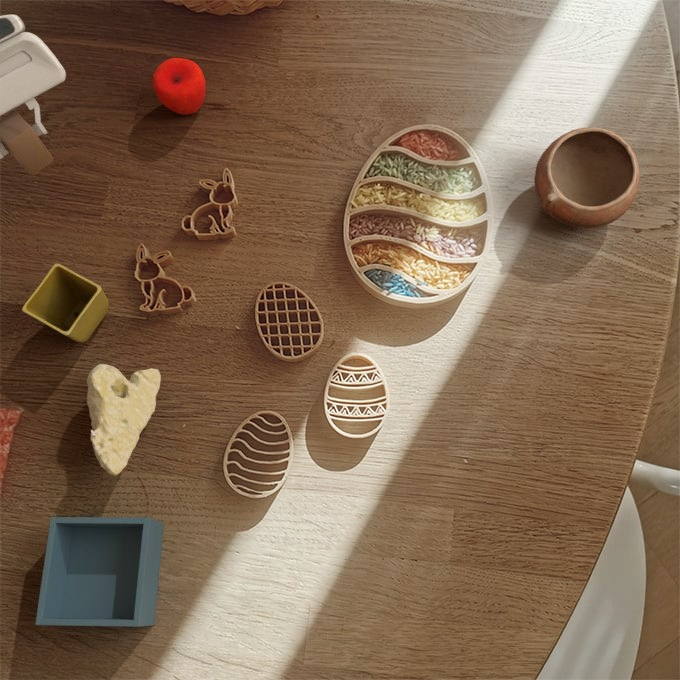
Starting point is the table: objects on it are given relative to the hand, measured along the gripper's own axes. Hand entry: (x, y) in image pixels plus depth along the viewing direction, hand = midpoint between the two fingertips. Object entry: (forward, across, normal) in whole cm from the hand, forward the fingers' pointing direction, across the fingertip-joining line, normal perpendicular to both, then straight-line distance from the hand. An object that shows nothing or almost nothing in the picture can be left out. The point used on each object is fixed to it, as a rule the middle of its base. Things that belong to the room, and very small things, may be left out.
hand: (24, 145), depth 100 cm
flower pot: (+27, -8, +6) cm, 29 cm away
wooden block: (+3, 0, +4) cm, 5 cm away
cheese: (+41, -10, -8) cm, 43 cm away
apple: (+8, +26, +24) cm, 37 cm away
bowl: (+46, +69, -14) cm, 84 cm away
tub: (+52, -22, -20) cm, 60 cm away
